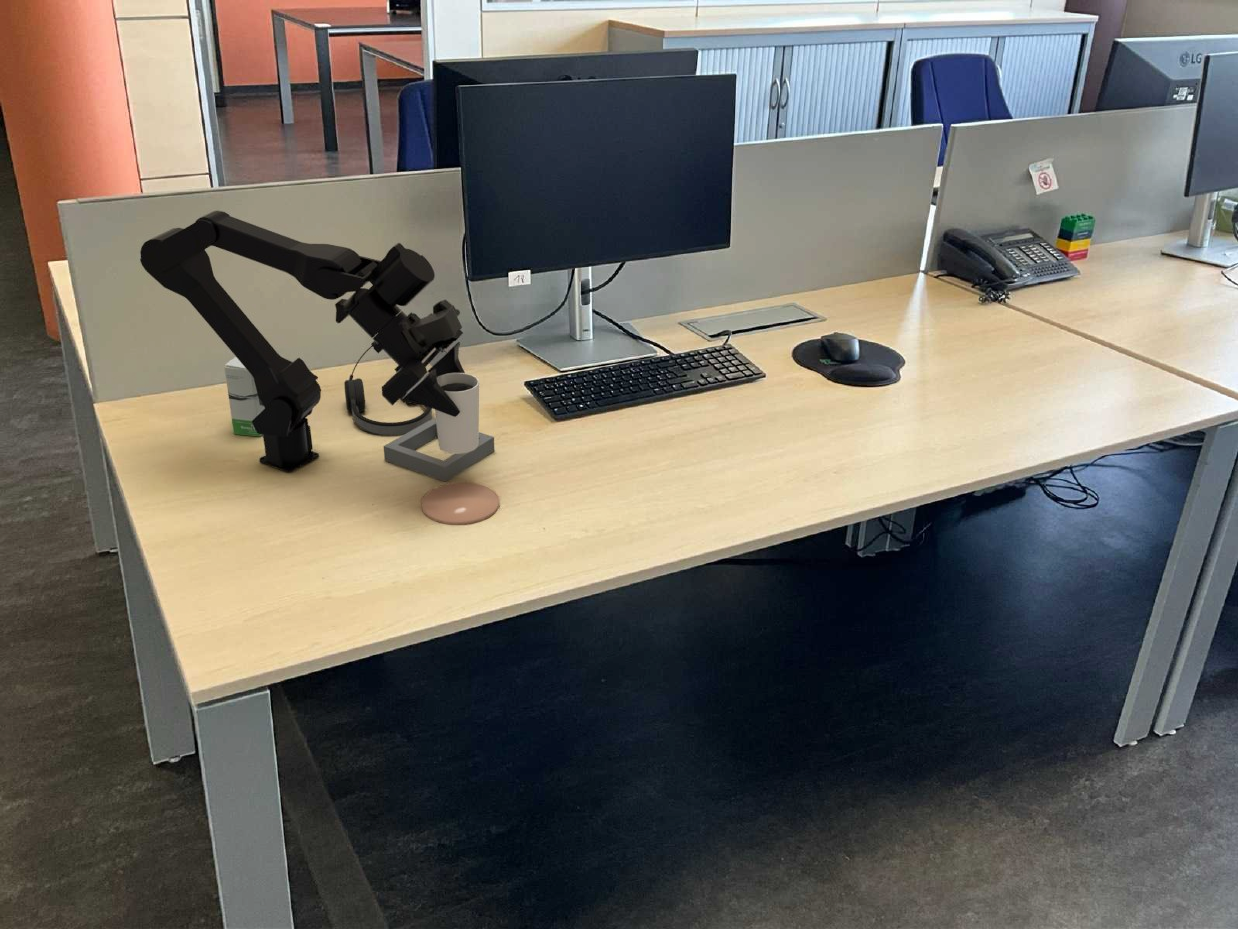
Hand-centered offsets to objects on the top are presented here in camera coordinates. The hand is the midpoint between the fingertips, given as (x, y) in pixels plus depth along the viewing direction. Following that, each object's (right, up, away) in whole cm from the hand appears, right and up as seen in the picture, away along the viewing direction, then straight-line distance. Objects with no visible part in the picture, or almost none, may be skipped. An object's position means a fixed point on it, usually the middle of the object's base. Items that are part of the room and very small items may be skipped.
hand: (465, 404), depth 155 cm
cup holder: (-6, -7, +14) cm, 16 cm away
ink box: (-37, -2, +21) cm, 42 cm away
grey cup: (-1, -6, +4) cm, 7 cm away
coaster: (-1, -14, +1) cm, 14 cm away
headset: (-17, 0, +27) cm, 32 cm away
